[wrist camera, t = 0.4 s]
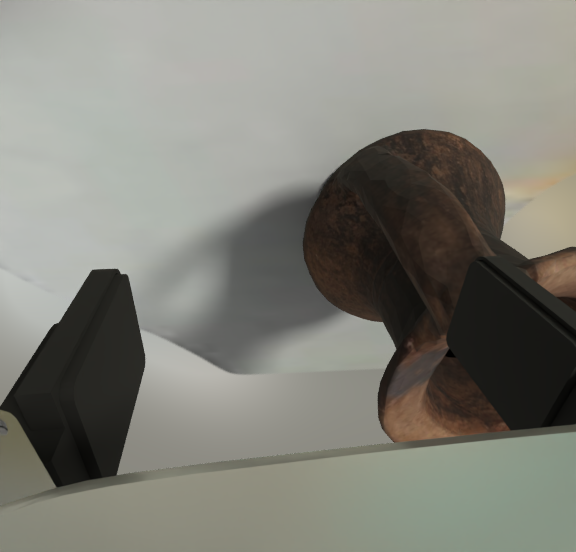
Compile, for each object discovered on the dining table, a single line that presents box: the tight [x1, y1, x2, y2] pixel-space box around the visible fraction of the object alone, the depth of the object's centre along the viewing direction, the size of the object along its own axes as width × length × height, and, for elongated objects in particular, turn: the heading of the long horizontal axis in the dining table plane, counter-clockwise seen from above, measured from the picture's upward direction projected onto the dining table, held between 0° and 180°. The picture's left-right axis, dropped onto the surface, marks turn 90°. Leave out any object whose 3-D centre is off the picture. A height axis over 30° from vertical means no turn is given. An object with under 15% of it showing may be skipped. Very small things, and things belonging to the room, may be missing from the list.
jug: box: [303, 129, 576, 443], centre depth 29 cm, size 21×18×30 cm
